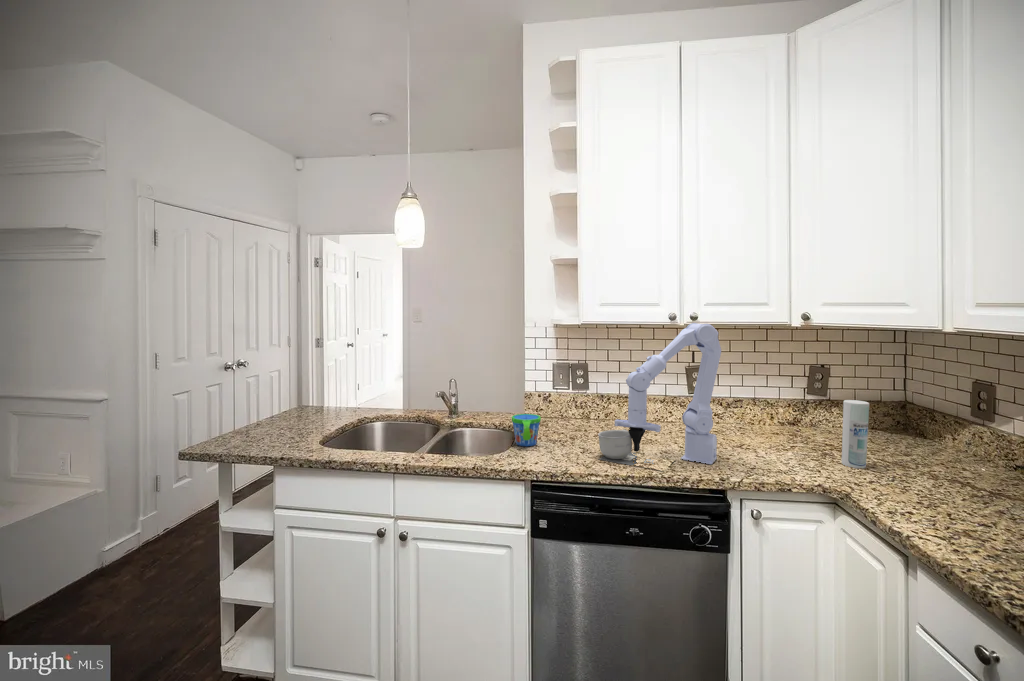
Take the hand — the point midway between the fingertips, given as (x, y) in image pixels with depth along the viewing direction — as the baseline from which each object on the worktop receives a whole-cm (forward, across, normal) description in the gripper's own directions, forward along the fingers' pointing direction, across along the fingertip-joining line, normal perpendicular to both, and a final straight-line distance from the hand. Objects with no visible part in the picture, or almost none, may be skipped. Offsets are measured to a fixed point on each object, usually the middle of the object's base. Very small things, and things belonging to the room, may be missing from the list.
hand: (636, 450), depth 152 cm
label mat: (+3, 0, 0) cm, 3 cm away
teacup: (+3, -6, 0) cm, 7 cm away
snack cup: (+3, -39, -5) cm, 40 cm away
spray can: (+3, +58, +33) cm, 67 cm away
